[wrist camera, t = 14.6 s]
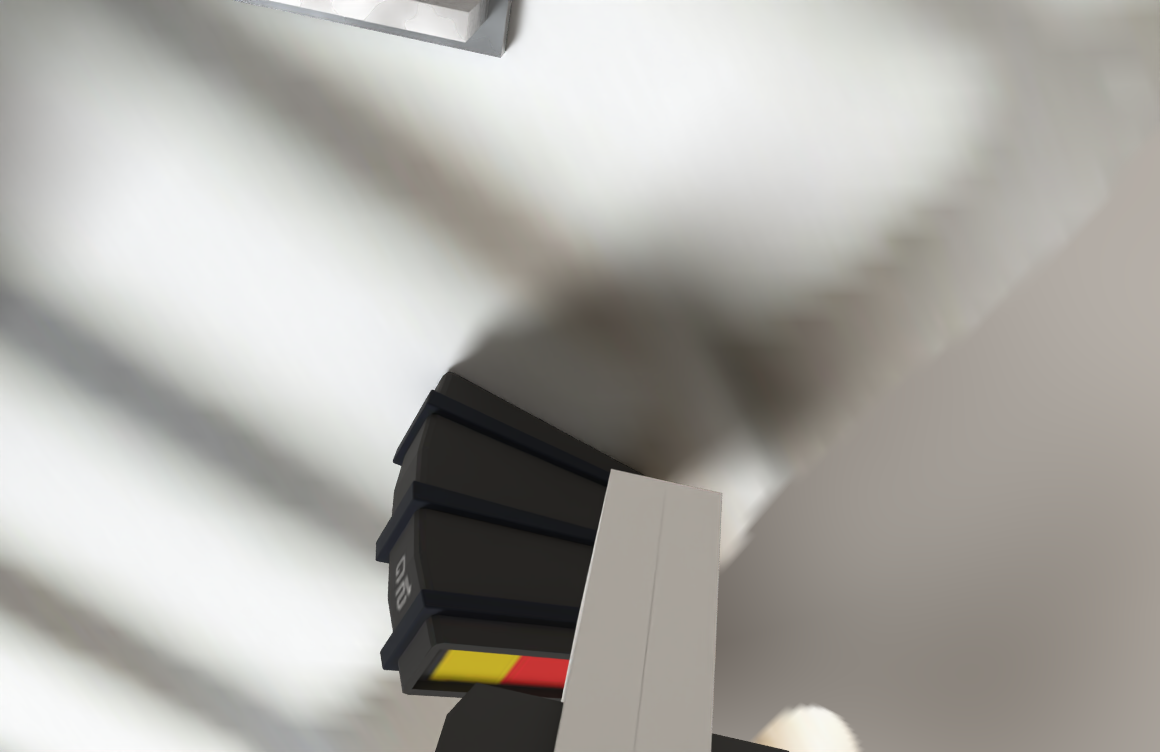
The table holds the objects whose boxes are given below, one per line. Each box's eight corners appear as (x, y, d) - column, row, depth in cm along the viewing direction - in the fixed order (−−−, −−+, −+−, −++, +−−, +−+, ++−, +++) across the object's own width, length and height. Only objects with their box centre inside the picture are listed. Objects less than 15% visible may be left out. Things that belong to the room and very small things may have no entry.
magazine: (375, 345, 45) (430, 635, 35) (624, 404, 52) (733, 663, 41) (343, 406, 47) (386, 699, 37) (587, 455, 54) (682, 715, 43)
